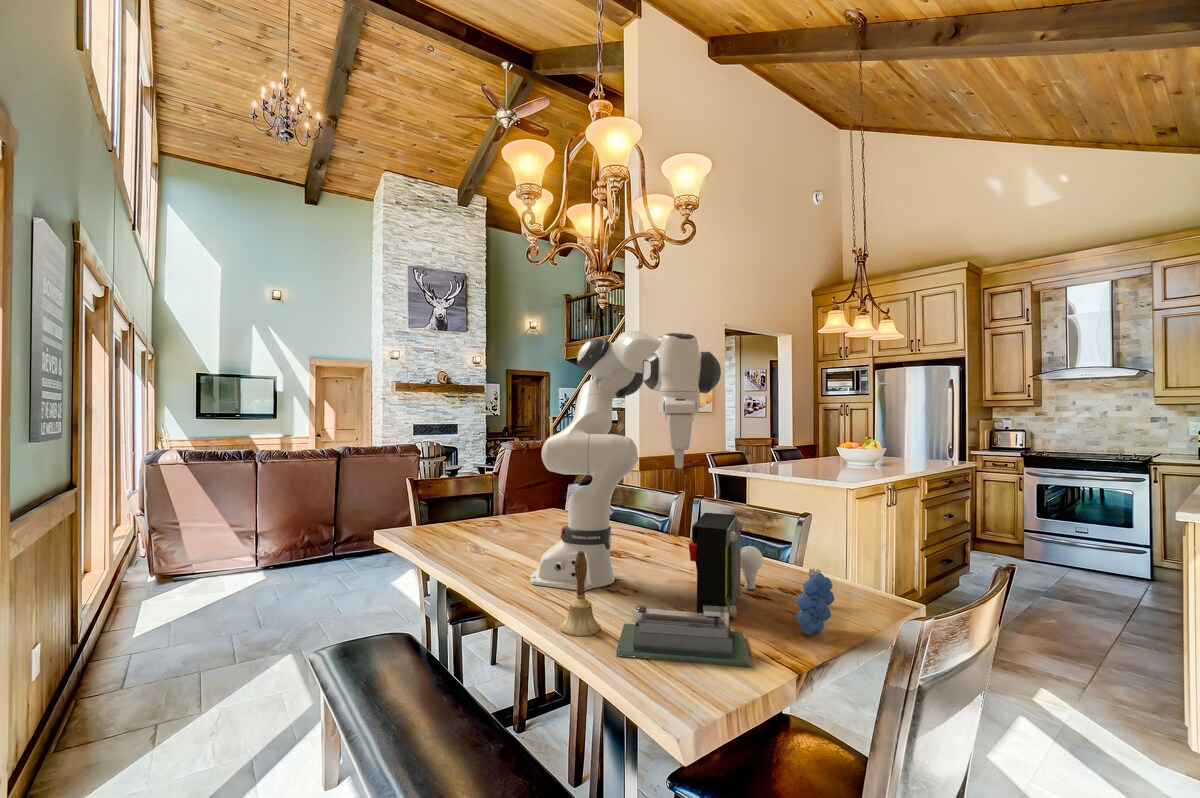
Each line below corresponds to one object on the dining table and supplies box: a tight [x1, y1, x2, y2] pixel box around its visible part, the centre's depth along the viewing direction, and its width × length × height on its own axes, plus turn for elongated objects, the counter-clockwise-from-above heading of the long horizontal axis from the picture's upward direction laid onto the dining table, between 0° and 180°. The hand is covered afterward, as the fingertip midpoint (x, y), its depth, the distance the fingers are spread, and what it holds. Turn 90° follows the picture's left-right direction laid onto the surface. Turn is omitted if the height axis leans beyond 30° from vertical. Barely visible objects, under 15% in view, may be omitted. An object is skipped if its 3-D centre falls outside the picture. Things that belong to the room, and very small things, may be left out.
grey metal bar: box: [632, 605, 714, 624], centre depth 105 cm, size 16×2×3 cm, turn 79°
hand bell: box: [559, 551, 601, 637], centre depth 113 cm, size 8×8×16 cm
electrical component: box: [688, 512, 744, 618], centre depth 127 cm, size 18×10×20 cm, turn 160°
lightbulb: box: [741, 545, 764, 591], centre depth 139 cm, size 6×6×11 cm
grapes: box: [795, 573, 835, 636], centre depth 113 cm, size 12×7×12 cm, turn 127°
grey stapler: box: [615, 605, 751, 668], centre depth 105 cm, size 24×13×8 cm, turn 81°
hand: (678, 467), depth 120 cm, fingers closed
